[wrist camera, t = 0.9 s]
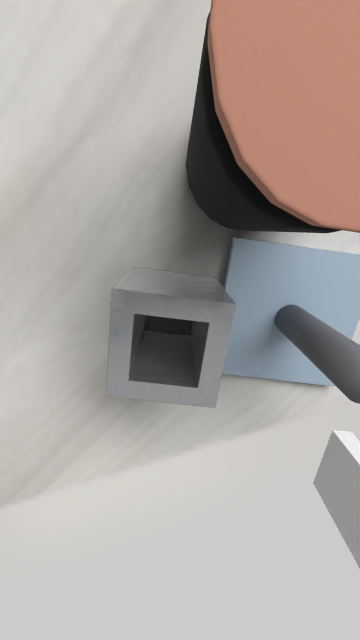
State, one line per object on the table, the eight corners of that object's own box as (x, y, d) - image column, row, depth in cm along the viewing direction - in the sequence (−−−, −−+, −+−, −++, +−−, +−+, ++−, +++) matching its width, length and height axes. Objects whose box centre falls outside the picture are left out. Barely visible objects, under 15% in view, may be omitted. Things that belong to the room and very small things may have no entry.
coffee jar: (299, 229, 26) (536, 231, 9) (186, 231, 26) (206, 238, 9) (314, 92, 23) (746, -333, 5) (184, 94, 22) (211, -328, 5)
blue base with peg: (208, 367, 30) (230, 463, 18) (232, 237, 26) (284, 245, 14) (330, 381, 31) (430, 481, 19) (373, 256, 27) (541, 281, 14)
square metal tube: (128, 342, 29) (106, 396, 20) (134, 266, 27) (112, 288, 17) (202, 350, 30) (215, 407, 20) (215, 277, 27) (236, 303, 18)
